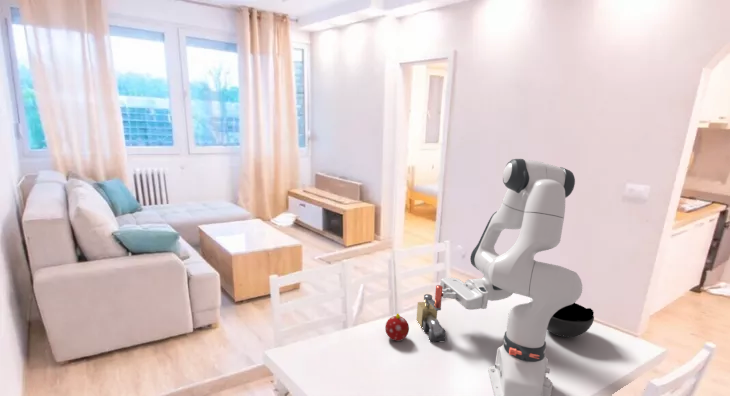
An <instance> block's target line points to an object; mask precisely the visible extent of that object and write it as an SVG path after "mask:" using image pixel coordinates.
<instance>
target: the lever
mask: <svg viewBox="0 0 730 396" xmlns="http://www.w3.org/2000/svg"><path fill="white" fill-rule="evenodd" d="M442 290H444V289H443V287H442V286H441V285H440V284H437V285H435V293H434V294H435V295H434V299H433V295H432V294H429V293H426V294H423V302H427V303H429V304H430V305H431V306H432V307H433V308H434V309H435V310H436V311H437V312H439V311H441V310H442V300H443V299H442V298H443V297H442Z"/></svg>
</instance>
